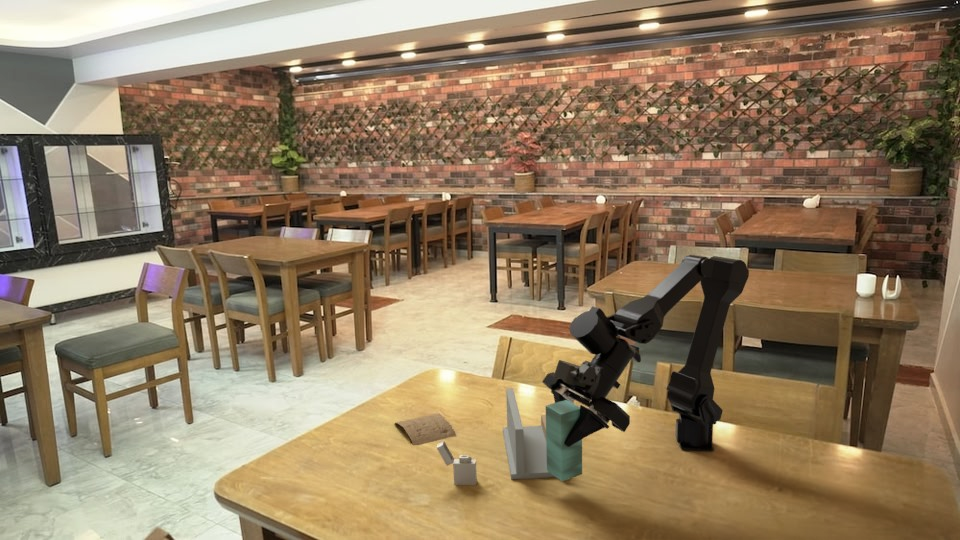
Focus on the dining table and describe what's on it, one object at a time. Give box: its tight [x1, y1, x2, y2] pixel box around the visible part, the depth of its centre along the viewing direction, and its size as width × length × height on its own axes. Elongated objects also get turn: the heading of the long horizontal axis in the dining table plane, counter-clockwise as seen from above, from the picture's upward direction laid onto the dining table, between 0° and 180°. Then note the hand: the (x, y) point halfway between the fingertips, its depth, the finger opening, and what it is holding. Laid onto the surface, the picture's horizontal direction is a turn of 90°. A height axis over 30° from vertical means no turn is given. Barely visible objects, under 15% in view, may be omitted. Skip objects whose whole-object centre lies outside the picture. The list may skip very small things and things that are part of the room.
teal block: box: [545, 400, 583, 482], centre depth 108 cm, size 4×4×12 cm
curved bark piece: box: [394, 412, 457, 446], centre depth 137 cm, size 14×10×3 cm
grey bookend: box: [502, 387, 556, 480], centre depth 124 cm, size 11×20×10 cm, turn 2°
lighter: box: [436, 440, 478, 486], centre depth 114 cm, size 7×2×8 cm, turn 85°
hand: (557, 440), depth 107 cm, fingers closed on teal block, 4 cm apart
